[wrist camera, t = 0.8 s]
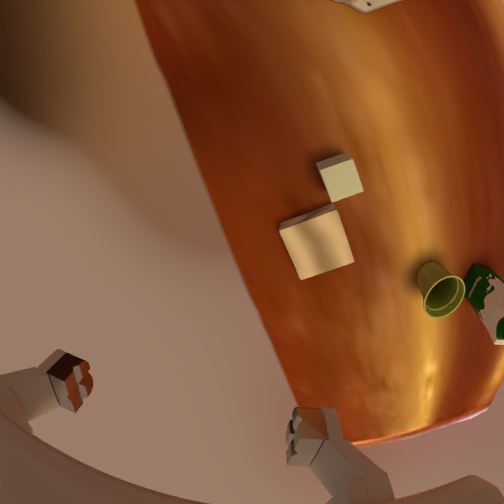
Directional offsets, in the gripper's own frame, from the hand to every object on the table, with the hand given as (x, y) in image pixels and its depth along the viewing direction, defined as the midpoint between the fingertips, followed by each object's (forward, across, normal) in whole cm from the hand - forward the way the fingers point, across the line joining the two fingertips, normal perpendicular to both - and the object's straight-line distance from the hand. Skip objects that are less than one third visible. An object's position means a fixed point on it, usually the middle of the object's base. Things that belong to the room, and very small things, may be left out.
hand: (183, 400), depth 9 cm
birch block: (+42, -12, 0) cm, 43 cm away
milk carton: (+40, -52, +3) cm, 66 cm away
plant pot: (+41, -37, +4) cm, 55 cm away
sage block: (+39, -12, -11) cm, 42 cm away
